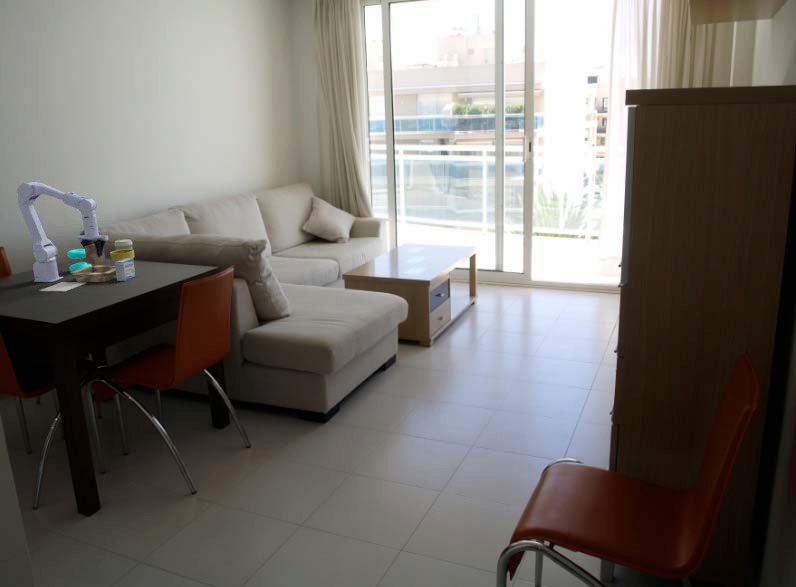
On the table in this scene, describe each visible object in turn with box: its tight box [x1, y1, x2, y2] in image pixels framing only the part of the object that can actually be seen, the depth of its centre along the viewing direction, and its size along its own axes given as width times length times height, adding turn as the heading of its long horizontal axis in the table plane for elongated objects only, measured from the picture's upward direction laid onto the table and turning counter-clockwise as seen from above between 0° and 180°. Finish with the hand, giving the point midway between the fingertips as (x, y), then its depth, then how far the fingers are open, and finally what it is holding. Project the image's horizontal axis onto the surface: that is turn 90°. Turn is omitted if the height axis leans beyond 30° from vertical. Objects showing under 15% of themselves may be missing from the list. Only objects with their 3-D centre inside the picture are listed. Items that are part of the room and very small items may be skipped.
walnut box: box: [83, 243, 106, 265], centre depth 306 cm, size 4×7×8 cm, turn 168°
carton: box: [69, 264, 117, 283], centre depth 308 cm, size 19×17×4 cm
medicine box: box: [114, 258, 136, 282], centre depth 304 cm, size 8×4×9 cm, turn 168°
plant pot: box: [109, 248, 135, 265], centre depth 319 cm, size 10×10×10 cm
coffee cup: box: [114, 238, 133, 251], centre depth 335 cm, size 8×8×12 cm
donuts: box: [66, 248, 93, 272], centre depth 325 cm, size 10×10×10 cm
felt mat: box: [39, 281, 87, 293], centre depth 294 cm, size 12×14×1 cm
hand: (95, 256), depth 306 cm, fingers closed on walnut box, 4 cm apart
